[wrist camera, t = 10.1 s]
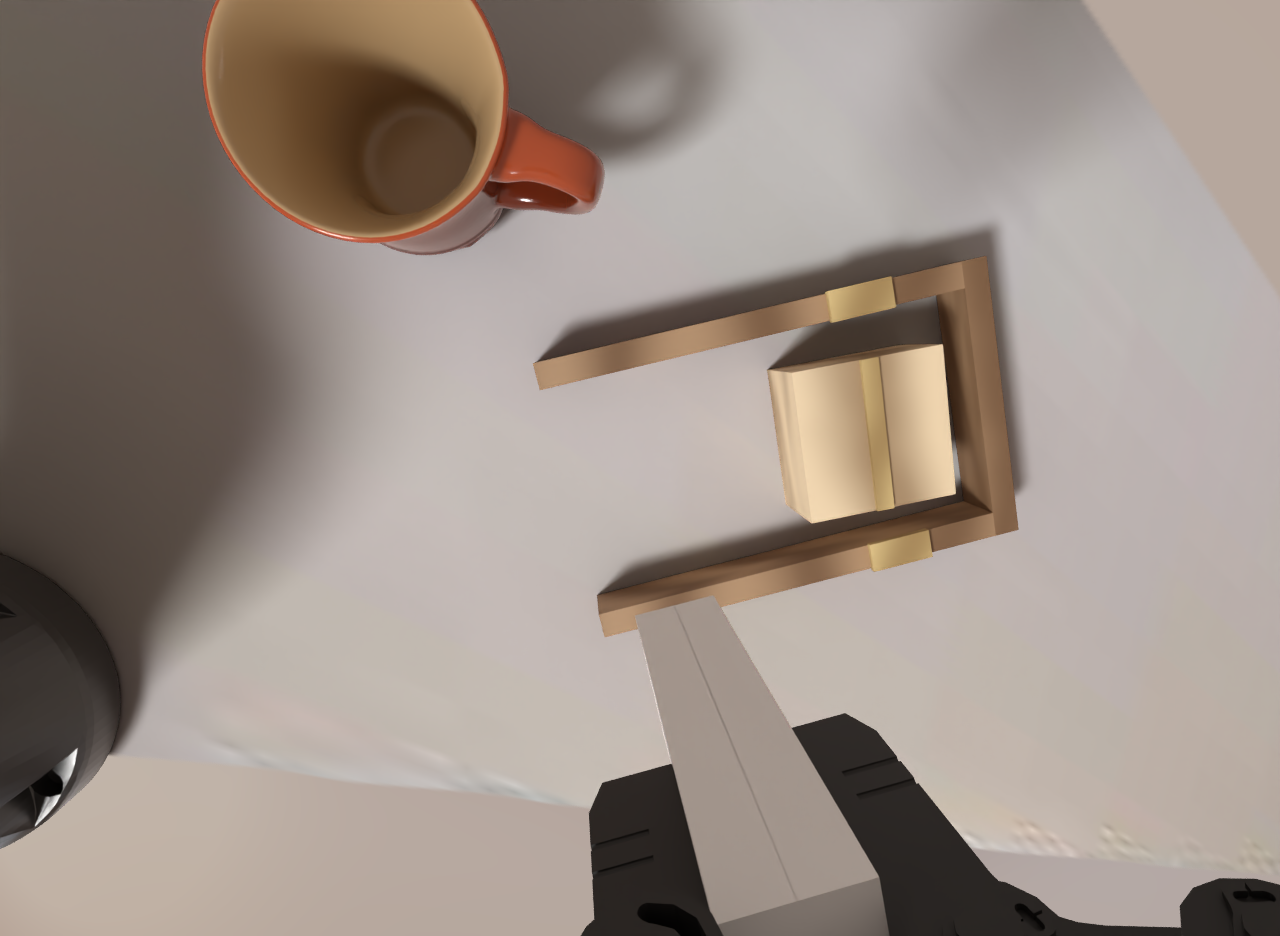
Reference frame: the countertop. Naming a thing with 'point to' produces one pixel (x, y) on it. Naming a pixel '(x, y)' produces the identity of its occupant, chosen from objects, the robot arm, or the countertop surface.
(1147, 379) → the countertop surface
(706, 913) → the robot arm
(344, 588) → the countertop surface
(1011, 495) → the beam slot
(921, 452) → the block
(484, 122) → the mug
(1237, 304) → the countertop surface
